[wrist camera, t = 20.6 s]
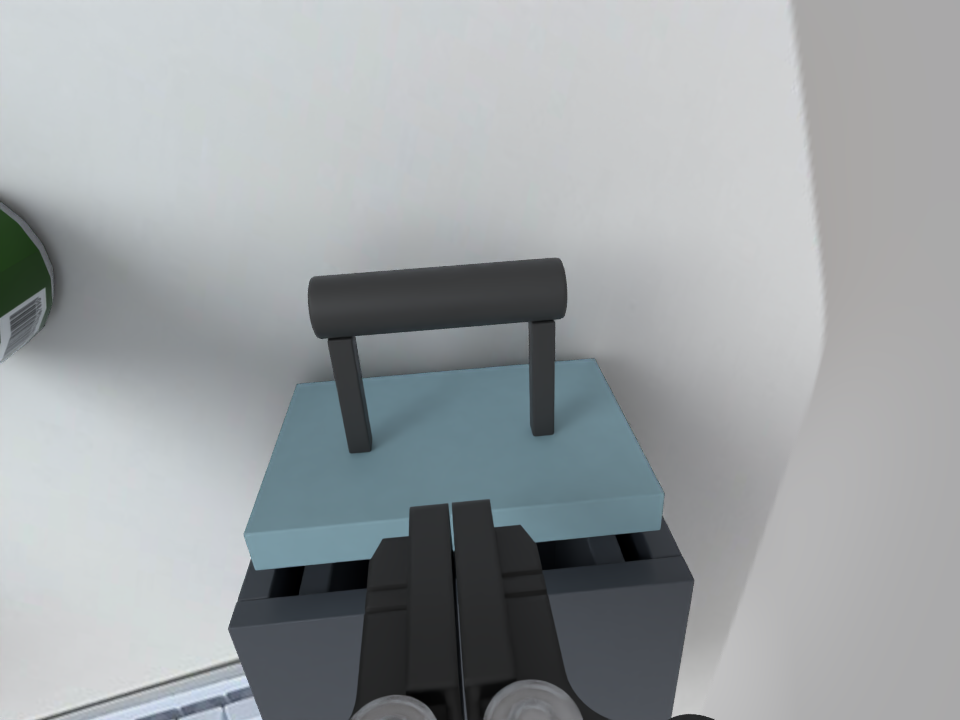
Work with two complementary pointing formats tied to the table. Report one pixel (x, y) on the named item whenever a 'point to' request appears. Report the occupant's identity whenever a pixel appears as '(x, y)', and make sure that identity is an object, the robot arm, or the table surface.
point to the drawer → (448, 432)
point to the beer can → (22, 283)
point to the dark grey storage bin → (576, 612)
